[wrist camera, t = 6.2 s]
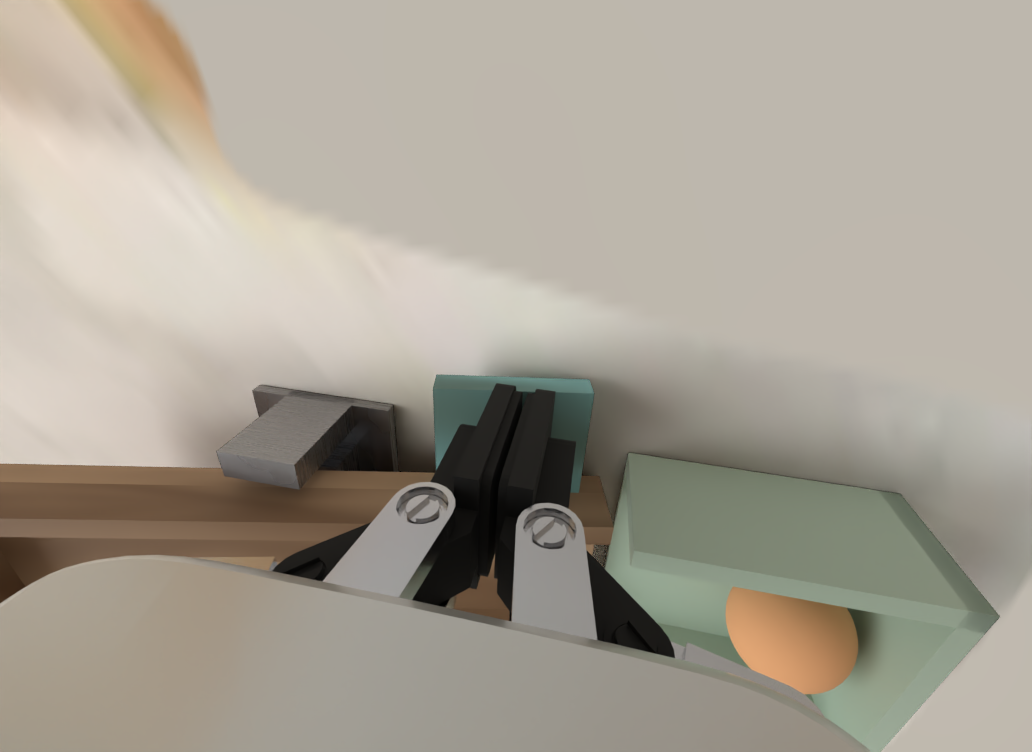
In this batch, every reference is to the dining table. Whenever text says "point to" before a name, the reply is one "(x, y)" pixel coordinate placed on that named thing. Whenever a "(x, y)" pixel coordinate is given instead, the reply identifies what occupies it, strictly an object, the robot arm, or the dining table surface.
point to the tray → (800, 576)
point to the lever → (255, 501)
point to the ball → (792, 639)
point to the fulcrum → (310, 438)
